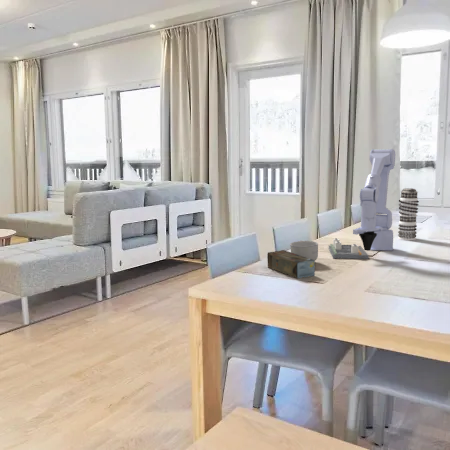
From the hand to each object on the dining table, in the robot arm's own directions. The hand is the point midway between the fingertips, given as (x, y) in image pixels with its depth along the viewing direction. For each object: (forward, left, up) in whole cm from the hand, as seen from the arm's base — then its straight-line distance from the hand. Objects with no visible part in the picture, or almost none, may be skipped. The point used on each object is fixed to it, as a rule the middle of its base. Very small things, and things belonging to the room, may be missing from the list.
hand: (367, 250), depth 189 cm
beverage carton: (+32, +26, -3) cm, 41 cm away
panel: (+7, -7, -3) cm, 10 cm away
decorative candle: (-27, -45, -3) cm, 52 cm away
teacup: (+26, +10, -3) cm, 28 cm away
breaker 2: (+11, -6, -1) cm, 13 cm away
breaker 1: (+11, -13, -1) cm, 17 cm away
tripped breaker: (+5, 0, -1) cm, 5 cm away
